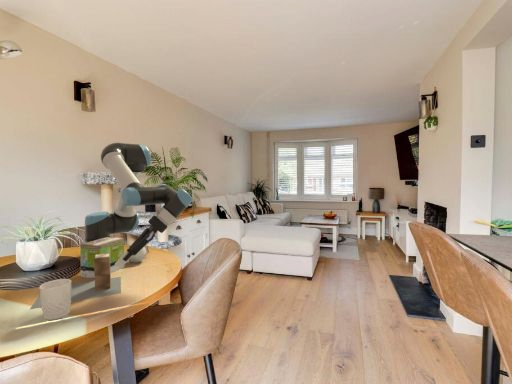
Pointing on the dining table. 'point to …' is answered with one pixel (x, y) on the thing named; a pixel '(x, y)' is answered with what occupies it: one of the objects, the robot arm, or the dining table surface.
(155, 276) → the dining table surface
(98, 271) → the walnut block
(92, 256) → the tea box
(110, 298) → the dining table surface
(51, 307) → the white cup
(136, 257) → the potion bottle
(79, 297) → the rubber mat
